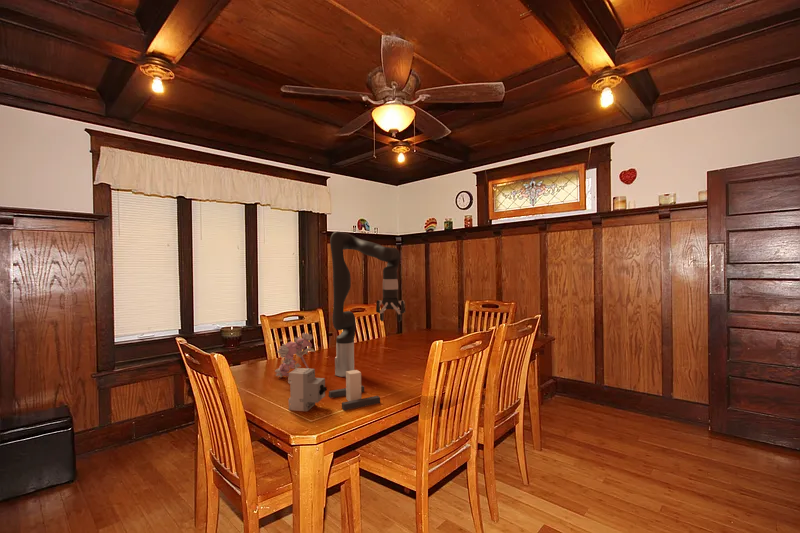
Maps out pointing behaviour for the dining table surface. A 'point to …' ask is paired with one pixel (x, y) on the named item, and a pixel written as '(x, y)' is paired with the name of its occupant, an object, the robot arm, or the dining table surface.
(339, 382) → the dining table surface
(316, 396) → the circuit breaker
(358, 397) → the plug block
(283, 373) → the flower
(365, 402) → the dark gray parallel rails
